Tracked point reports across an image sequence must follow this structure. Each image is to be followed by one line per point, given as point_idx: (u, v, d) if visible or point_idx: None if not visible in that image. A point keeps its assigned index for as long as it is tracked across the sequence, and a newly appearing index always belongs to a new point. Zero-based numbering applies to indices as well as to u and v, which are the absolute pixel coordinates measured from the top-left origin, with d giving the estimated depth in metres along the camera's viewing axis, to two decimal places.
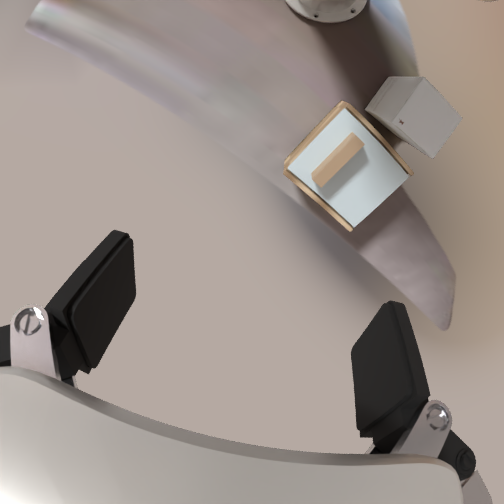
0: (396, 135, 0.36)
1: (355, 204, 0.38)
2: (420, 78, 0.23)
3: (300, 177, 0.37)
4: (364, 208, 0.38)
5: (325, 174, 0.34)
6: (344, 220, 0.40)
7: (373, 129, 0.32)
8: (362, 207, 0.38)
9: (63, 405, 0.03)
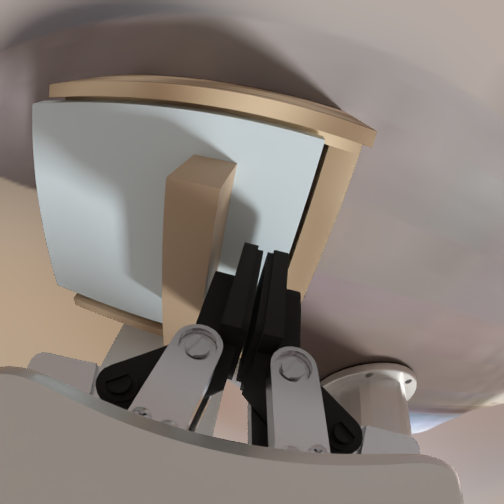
0: None
1: (67, 159, 0.10)
2: None
3: (263, 130, 0.09)
4: (48, 165, 0.11)
5: (187, 233, 0.09)
6: None
7: None
8: (52, 164, 0.11)
9: (63, 405, 0.03)
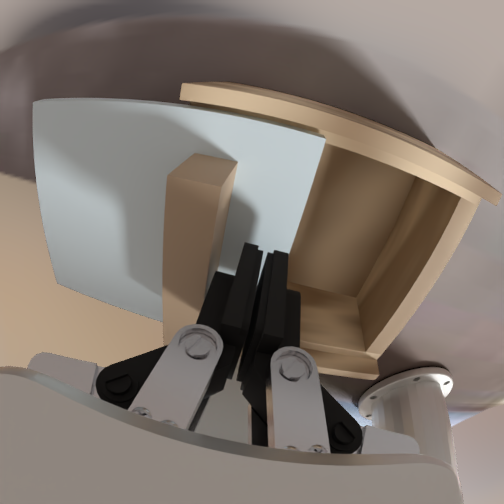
0: None
1: (68, 157, 0.10)
2: None
3: (264, 128, 0.09)
4: (48, 164, 0.11)
5: (187, 231, 0.09)
6: None
7: None
8: (53, 163, 0.11)
9: (63, 405, 0.03)
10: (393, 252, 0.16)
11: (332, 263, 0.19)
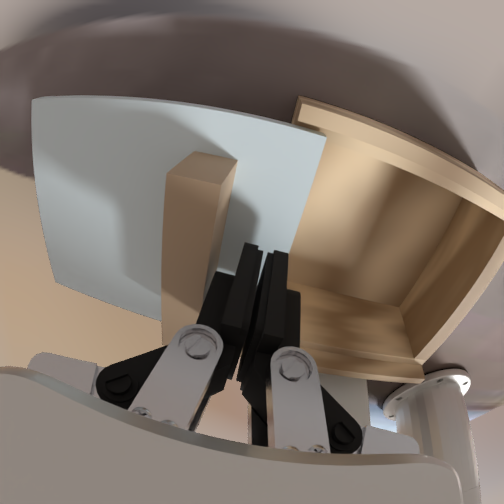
0: None
1: (66, 155, 0.10)
2: None
3: (265, 126, 0.09)
4: (47, 162, 0.10)
5: (186, 230, 0.09)
6: None
7: (369, 377, 0.15)
8: (51, 161, 0.10)
9: (63, 405, 0.03)
10: (440, 266, 0.16)
11: (383, 276, 0.19)
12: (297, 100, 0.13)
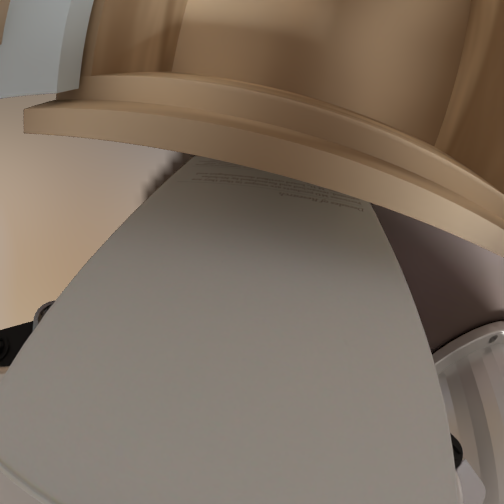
0: (209, 165, 0.11)
1: None
2: None
3: None
4: None
5: None
6: None
7: (419, 208, 0.05)
8: None
9: None
10: (484, 37, 0.05)
11: (390, 65, 0.08)
12: None
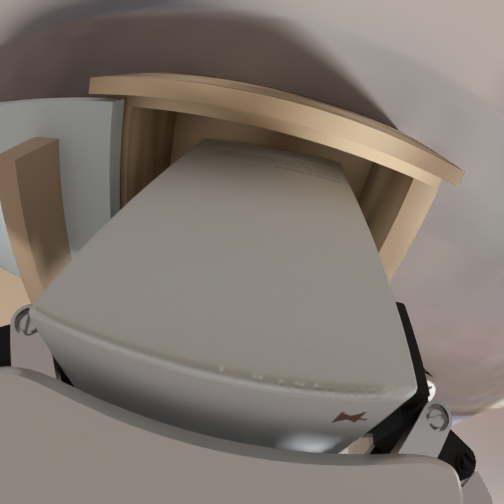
0: (219, 145, 0.13)
1: None
2: None
3: (70, 105, 0.08)
4: None
5: (9, 199, 0.08)
6: None
7: None
8: None
9: (63, 405, 0.03)
10: None
11: None
12: None
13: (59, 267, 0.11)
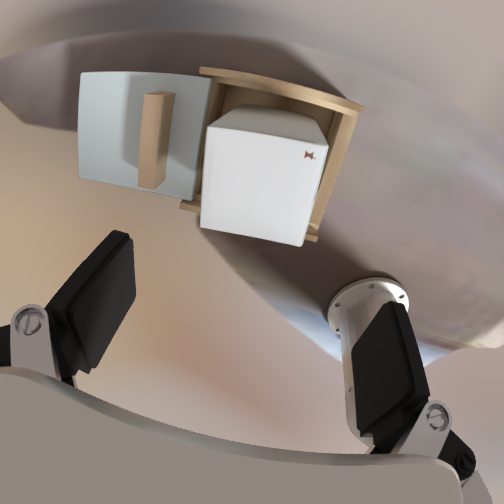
0: (251, 105, 0.24)
1: (99, 98, 0.20)
2: None
3: (185, 77, 0.19)
4: (87, 103, 0.21)
5: (151, 115, 0.19)
6: None
7: None
8: (90, 102, 0.21)
9: (63, 405, 0.03)
10: None
11: None
12: None
13: (162, 160, 0.23)
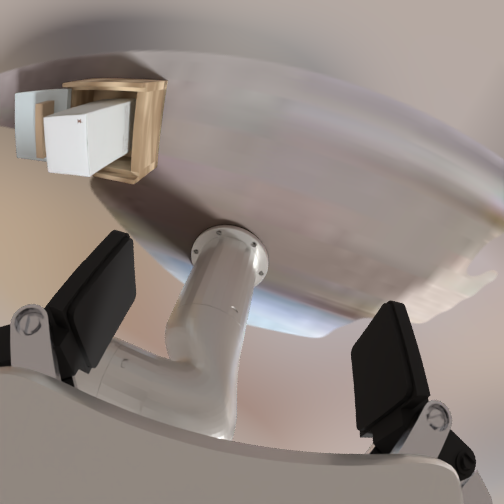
0: (102, 99, 0.32)
1: (23, 108, 0.28)
2: (91, 172, 0.27)
3: (57, 90, 0.27)
4: (18, 111, 0.29)
5: (38, 115, 0.27)
6: None
7: (106, 177, 0.34)
8: (19, 110, 0.28)
9: (63, 405, 0.03)
10: None
11: None
12: None
13: None
